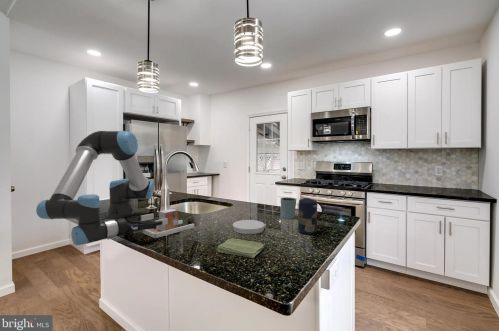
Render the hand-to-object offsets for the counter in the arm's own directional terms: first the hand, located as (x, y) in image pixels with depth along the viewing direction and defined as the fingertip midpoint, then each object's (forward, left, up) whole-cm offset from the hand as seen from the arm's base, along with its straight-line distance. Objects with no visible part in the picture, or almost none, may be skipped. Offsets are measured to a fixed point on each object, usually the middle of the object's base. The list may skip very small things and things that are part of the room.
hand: (160, 218), depth 123 cm
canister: (+56, +51, -8) cm, 76 cm away
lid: (+29, +36, -8) cm, 47 cm away
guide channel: (0, +6, -7) cm, 9 cm away
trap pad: (0, -2, -7) cm, 8 cm away
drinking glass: (+32, +70, -8) cm, 78 cm away
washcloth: (+45, +11, -8) cm, 47 cm away
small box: (0, +5, -8) cm, 9 cm away
